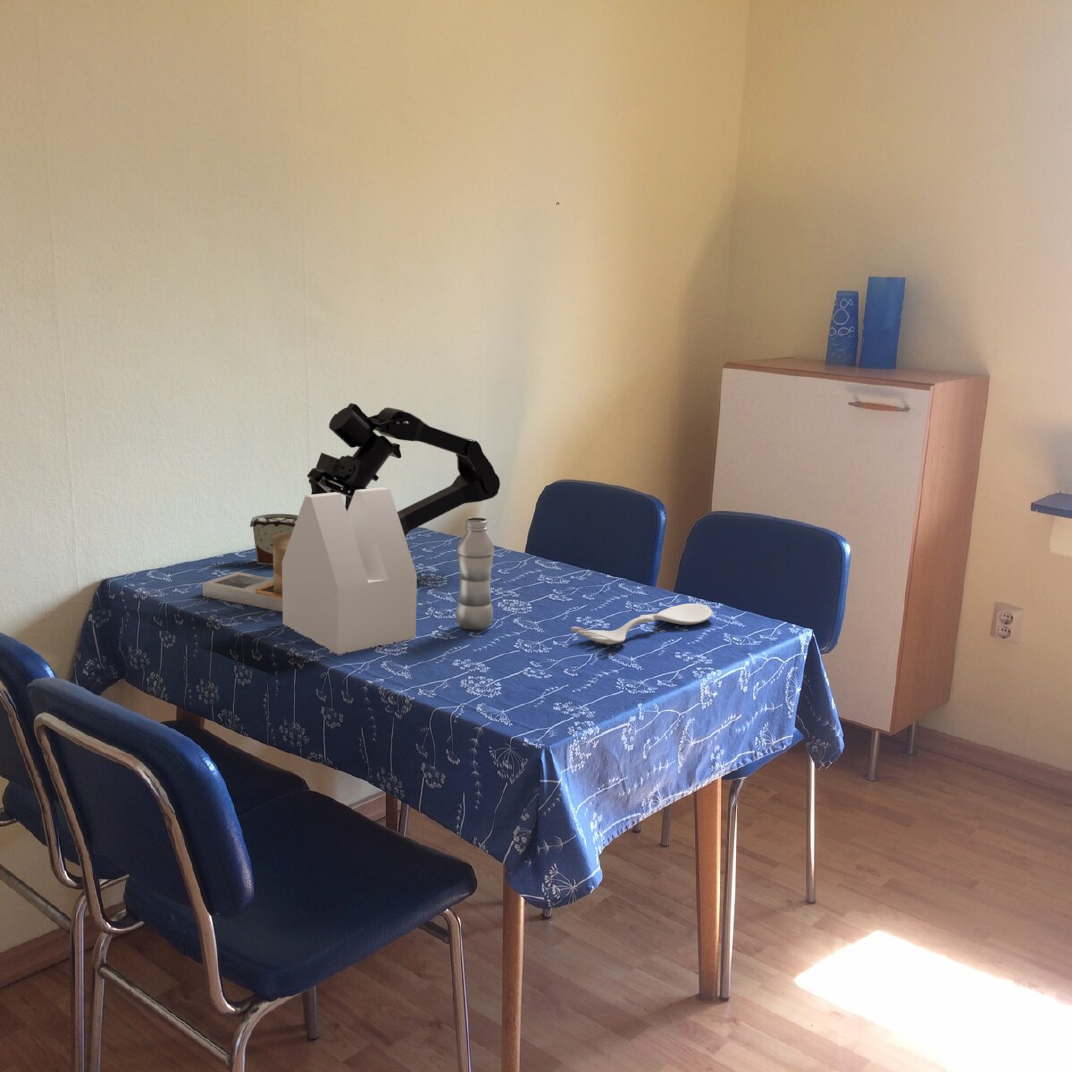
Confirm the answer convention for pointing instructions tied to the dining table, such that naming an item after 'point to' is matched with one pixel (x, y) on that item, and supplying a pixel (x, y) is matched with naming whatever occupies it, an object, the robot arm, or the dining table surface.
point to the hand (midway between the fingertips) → (318, 526)
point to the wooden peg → (279, 558)
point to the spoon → (675, 615)
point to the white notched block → (349, 573)
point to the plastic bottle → (475, 576)
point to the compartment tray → (245, 590)
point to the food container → (270, 533)
